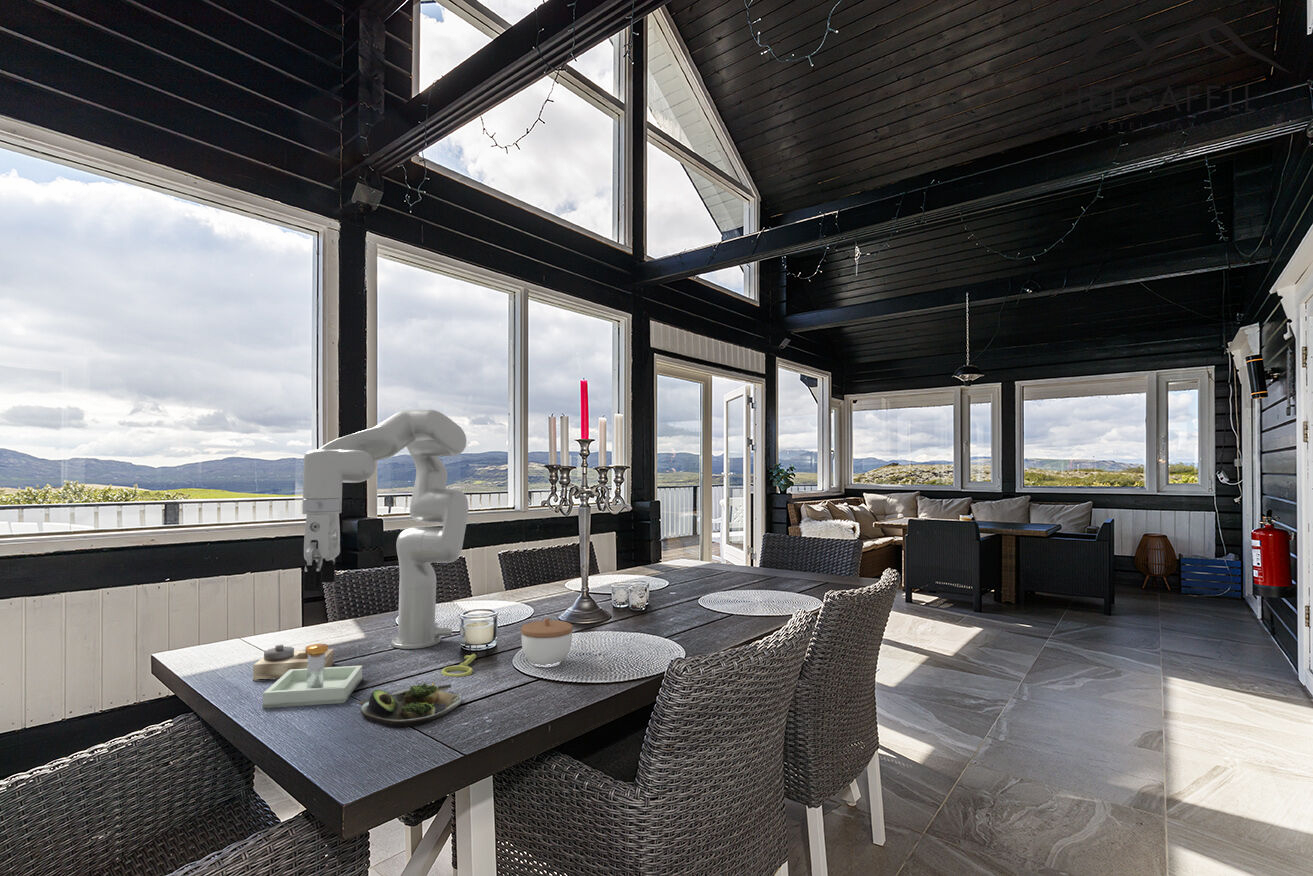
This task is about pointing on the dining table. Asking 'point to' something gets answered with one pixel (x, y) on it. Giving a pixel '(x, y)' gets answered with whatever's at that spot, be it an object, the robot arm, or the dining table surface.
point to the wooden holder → (284, 662)
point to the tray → (295, 693)
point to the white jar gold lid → (316, 665)
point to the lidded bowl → (546, 641)
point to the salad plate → (408, 705)
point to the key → (460, 667)
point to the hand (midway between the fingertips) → (319, 586)
